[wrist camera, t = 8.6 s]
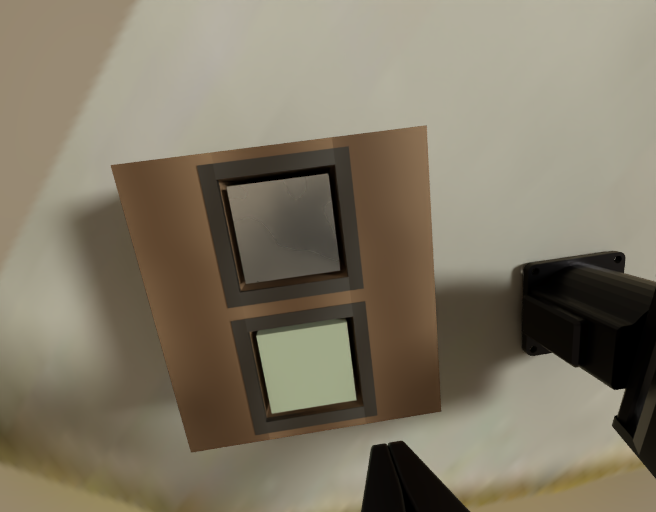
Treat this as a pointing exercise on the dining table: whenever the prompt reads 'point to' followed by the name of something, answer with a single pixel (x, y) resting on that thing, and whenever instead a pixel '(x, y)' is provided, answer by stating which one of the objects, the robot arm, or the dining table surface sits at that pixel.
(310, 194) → the steel peg
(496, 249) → the dining table surface
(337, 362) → the sage peg
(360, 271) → the walnut block
